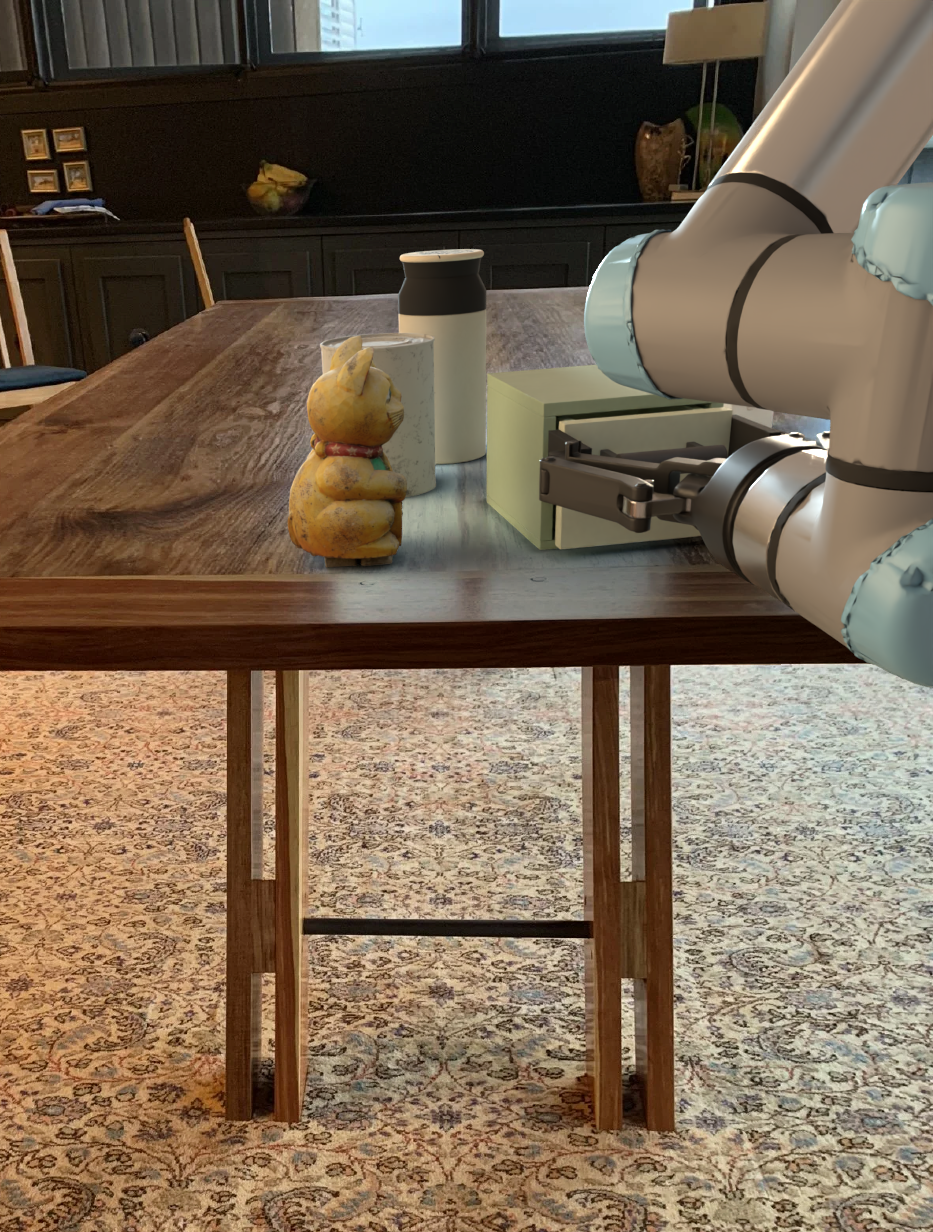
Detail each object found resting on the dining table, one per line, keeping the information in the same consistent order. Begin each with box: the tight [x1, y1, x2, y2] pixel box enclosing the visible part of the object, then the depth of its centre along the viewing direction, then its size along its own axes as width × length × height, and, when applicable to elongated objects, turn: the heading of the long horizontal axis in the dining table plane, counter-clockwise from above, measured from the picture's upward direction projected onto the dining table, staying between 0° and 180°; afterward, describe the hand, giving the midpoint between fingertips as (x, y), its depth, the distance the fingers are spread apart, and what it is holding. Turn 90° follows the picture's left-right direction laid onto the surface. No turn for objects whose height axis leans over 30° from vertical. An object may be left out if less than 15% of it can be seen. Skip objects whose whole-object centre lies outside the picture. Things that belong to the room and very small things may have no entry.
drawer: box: [552, 404, 732, 550], centre depth 85 cm, size 18×12×8 cm, turn 8°
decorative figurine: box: [286, 335, 407, 568], centre depth 83 cm, size 10×8×15 cm
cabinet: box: [486, 364, 724, 551], centre depth 90 cm, size 15×13×10 cm
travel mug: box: [397, 248, 487, 465], centre depth 111 cm, size 8×8×18 cm
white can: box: [319, 332, 437, 498], centre depth 102 cm, size 10×10×12 cm
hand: (641, 443), depth 81 cm, fingers closed on drawer, 12 cm apart
